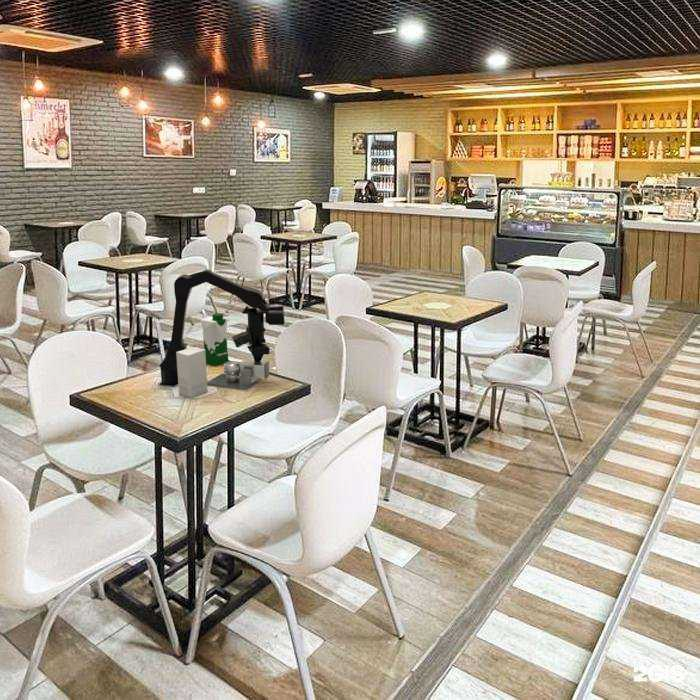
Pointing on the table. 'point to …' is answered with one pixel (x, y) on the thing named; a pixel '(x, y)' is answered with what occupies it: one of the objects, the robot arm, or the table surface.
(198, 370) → the skincare box
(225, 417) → the table surface
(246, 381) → the base
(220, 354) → the milk carton
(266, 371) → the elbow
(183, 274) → the robot arm
